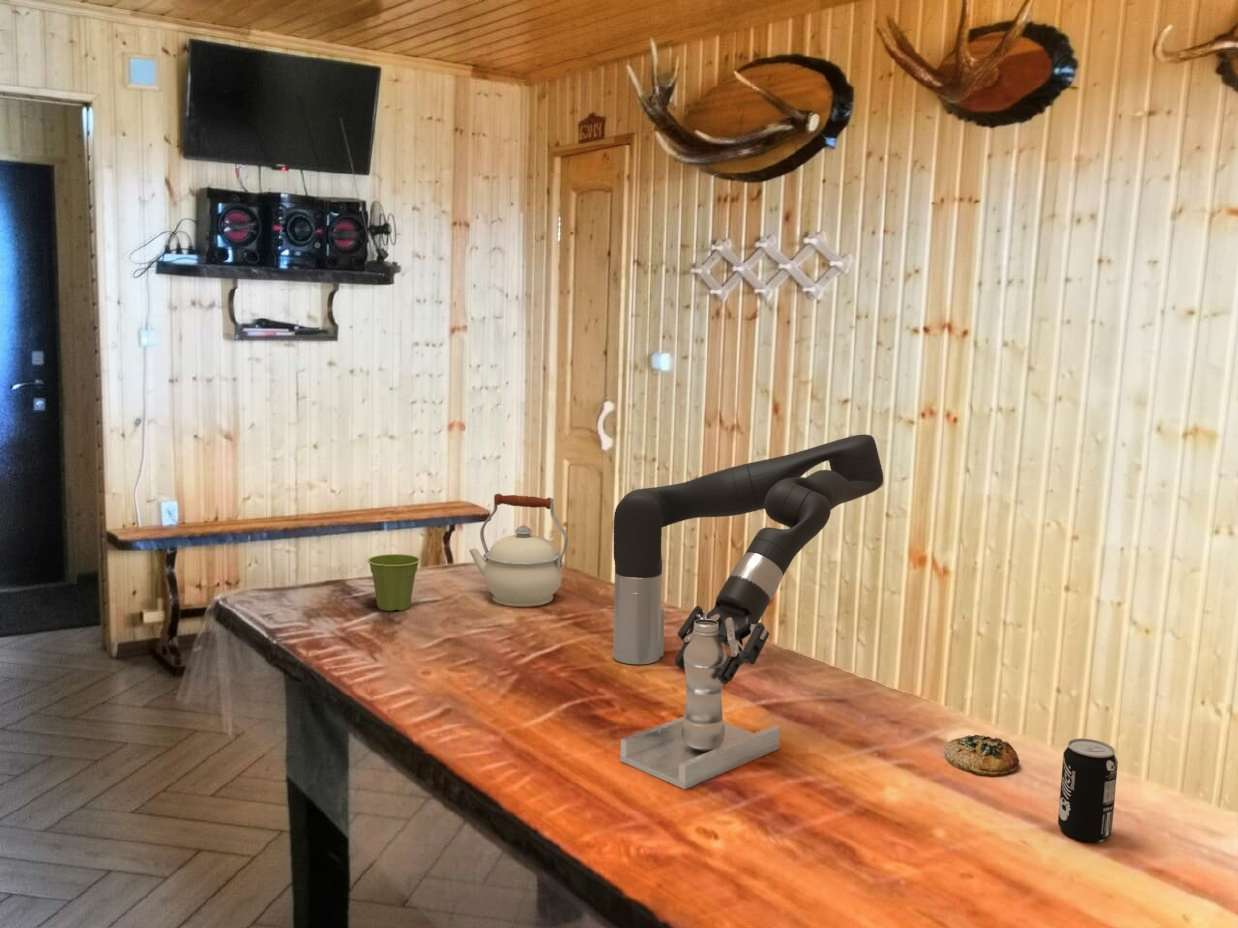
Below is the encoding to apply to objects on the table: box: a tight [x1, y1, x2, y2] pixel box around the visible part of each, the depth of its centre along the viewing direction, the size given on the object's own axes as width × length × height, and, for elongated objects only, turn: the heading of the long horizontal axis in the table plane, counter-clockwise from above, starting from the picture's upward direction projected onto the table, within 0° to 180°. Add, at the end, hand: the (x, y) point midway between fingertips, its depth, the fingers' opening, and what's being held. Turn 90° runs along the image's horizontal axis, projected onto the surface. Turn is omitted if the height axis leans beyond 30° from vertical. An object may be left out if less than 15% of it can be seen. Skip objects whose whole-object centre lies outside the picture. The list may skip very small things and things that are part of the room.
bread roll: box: [943, 734, 1020, 777], centre depth 165 cm, size 11×11×5 cm
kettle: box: [468, 493, 569, 608], centre depth 253 cm, size 25×18×25 cm
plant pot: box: [366, 553, 422, 612], centre depth 244 cm, size 12×12×11 cm
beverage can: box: [1057, 738, 1119, 843], centre depth 142 cm, size 7×7×12 cm
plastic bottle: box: [682, 619, 727, 751], centre depth 165 cm, size 6×7×20 cm
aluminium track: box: [619, 715, 781, 790], centre depth 166 cm, size 22×13×4 cm, turn 134°
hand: (699, 674), depth 163 cm, fingers open, 8 cm apart
